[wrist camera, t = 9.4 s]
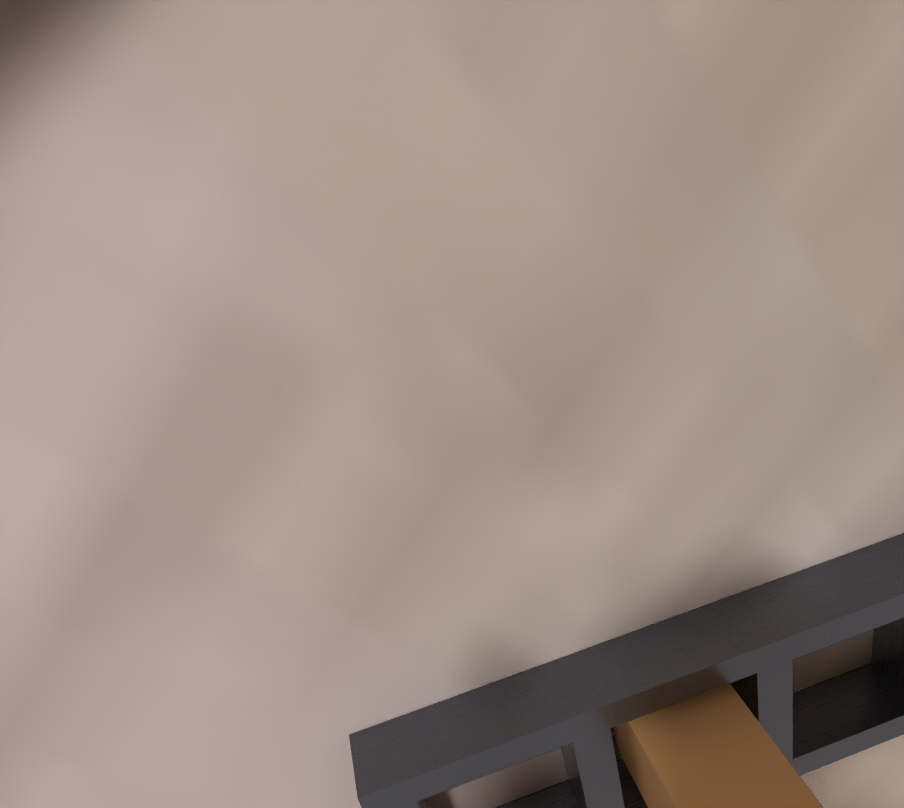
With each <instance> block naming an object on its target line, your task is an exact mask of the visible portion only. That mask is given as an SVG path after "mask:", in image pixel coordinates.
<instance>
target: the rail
mask: <svg viewBox="0 0 904 808" xmlns="http://www.w3.org/2000/svg"><path fill="white" fill-rule="evenodd" d="M872 629H874V643H873V656H872V664H870V665H868V666H865V667H863V668H860V669H857V670H855V671H852V672H850V673H847V674H844V675H842V676H839V677H837V678H834V679H831V680H829V681H826V682H824V683H821V684H818V685H816V686H813V687H811V688H808V689H805V690H803V691H800V692H797V693H795V694H793V659H795V658H798V657H801V656H803V655H806V654H809V653H811V652H814V651H817V650H819V649H822V648H824V647H827V646H830V645H832V644H835V643H838V642H840V641H843V640H846V639H848V638H851V637H854V636H856V635H859V634H862V633H864V632H867V631H869V630H872ZM729 683H730V684H731V686H732V687H733V688H734V690H735V691H736V692H737V694H738V695H739V696H740V698H741V699H742V700H743V702H744V703H745V704H746V706H747V707H748V708H749V710H750V711H751V712H752V714H753V715H754V716H755V718H756V719H757V720H758V722H759V723H760V724H761V726H762V727H763V728H764V730H765V731H766V732H767V733H768V735H769V736H770V737H771V739H772V740H773V741H774V743H775V744H776V745H777V747H778V748H779V749H780V751H781V752H782V753H783V755H784V756H785V757H786V759H787V760H788V761H789V763H790V764H791V765H792V767H793V768H794V769H795V771H796V772H797V773H798V775H799V776H800V775H802V774H805V773H807V772H810V771H812V770H815V769H817V768H820V767H822V766H825V765H827V764H830V763H832V762H835V761H837V760H840V759H842V758H845V757H847V756H850V755H852V754H855V753H857V752H860V751H862V750H865V749H868V748H870V747H873V746H875V745H878V744H880V743H883V742H885V741H888V740H890V739H893V738H895V737H898V736H900V735H903V734H904V534H901V535H898V536H895V537H893V538H890V539H887V540H884V541H882V542H879V543H876V544H873V545H871V546H868V547H865V548H862V549H860V550H857V551H854V552H851V553H849V554H846V555H843V556H840V557H838V558H835V559H832V560H829V561H827V562H824V563H821V564H818V565H816V566H813V567H810V568H807V569H805V570H802V571H799V572H796V573H794V574H791V575H788V576H785V577H783V578H780V579H777V580H774V581H772V582H769V583H766V584H763V585H761V586H758V587H755V588H752V589H750V590H747V591H744V592H741V593H739V594H736V595H733V596H730V597H728V598H725V599H722V600H719V601H717V602H714V603H711V604H708V605H706V606H703V607H700V608H697V609H695V610H692V611H689V612H686V613H684V614H681V615H678V616H675V617H673V618H670V619H667V620H664V621H662V622H659V623H656V624H653V625H651V626H648V627H645V628H642V629H640V630H637V631H634V632H631V633H629V634H626V635H623V636H620V637H618V638H615V639H612V640H609V641H607V642H604V643H601V644H598V645H596V646H593V647H590V648H587V649H585V650H582V651H579V652H576V653H574V654H571V655H568V656H565V657H563V658H560V659H557V660H554V661H552V662H549V663H546V664H543V665H541V666H538V667H535V668H532V669H530V670H527V671H524V672H521V673H519V674H516V675H513V676H510V677H508V678H505V679H502V680H499V681H497V682H494V683H491V684H488V685H486V686H483V687H480V688H477V689H475V690H472V691H469V692H466V693H464V694H461V695H458V696H455V697H453V698H450V699H447V700H444V701H442V702H439V703H436V704H433V705H431V706H428V707H425V708H422V709H420V710H417V711H414V712H411V713H409V714H406V715H403V716H400V717H398V718H395V719H392V720H389V721H387V722H384V723H381V724H378V725H376V726H373V727H370V728H367V729H365V730H362V731H359V732H356V733H354V734H351V735H349V737H350V745H351V752H352V760H353V767H354V774H355V782H356V789H357V796H358V800H359V802H360V804H361V806H362V808H429V805H428V802H427V800H426V798H428V797H431V796H433V795H436V794H438V793H441V792H444V791H446V790H449V789H452V788H454V787H457V786H460V785H462V784H465V783H468V782H470V781H473V780H475V779H478V778H481V777H483V776H486V775H489V774H491V773H494V772H497V771H499V770H502V769H505V768H507V767H510V766H512V765H515V764H518V763H520V762H523V761H526V760H528V759H531V758H534V757H536V756H539V755H542V754H544V753H547V752H550V751H552V750H555V749H557V748H560V747H561V749H562V753H563V758H564V762H565V767H566V771H567V775H568V781H566V782H563V783H561V784H558V785H555V786H553V787H550V788H548V789H545V790H542V791H540V792H537V793H535V794H532V795H529V796H527V797H524V798H522V799H519V800H516V801H514V802H511V803H509V804H506V805H503V806H501V807H498V808H648V806H647V805H646V803H645V801H644V799H643V797H642V795H641V793H640V791H639V789H638V787H637V785H636V783H635V781H634V780H633V778H632V776H631V774H630V772H629V770H628V768H627V766H626V764H625V762H624V760H620V761H618V762H616V756H615V750H614V745H613V739H612V733H611V728H613V727H616V726H618V725H621V724H624V723H626V722H629V721H631V720H634V719H637V718H639V717H642V716H645V715H647V714H650V713H653V712H655V711H658V710H661V709H663V708H666V707H668V706H671V705H674V704H676V703H679V702H682V701H684V700H687V699H690V698H692V697H695V696H698V695H700V694H703V693H706V692H708V691H711V690H713V689H716V688H719V687H721V686H724V685H727V684H729Z"/></svg>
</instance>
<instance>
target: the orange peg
mask: <svg viewBox="0 0 904 808" xmlns="http://www.w3.org/2000/svg"><path fill="white" fill-rule="evenodd" d="M613 729H614V735H615V740H616V746H617V749H618V751H619V753H620V755H621V756H622V758H623V760H624V762H625V764H626V766H627V768H628V770H629V772H630V774H631V776H632V778H633V780H634V781H635V783H636V785H637V787H638V789H639V791H640V793H641V795H642V797H643V799H644V801H645V803H646V805H647V806H648V808H823V806H822V805H821V804H820V802H819V801H818V800H817V798H816V797H815V796H814V794H813V793H812V792H811V791H810V789H809V788H808V787H807V785H806V784H805V783H804V781H803V780H802V779H801V777H800V776H799V775H798V773H797V772H796V771H795V769H794V768H793V767H792V765H791V764H790V763H789V761H788V760H787V759H786V757H785V756H784V755H783V753H782V752H781V751H780V749H779V748H778V747H777V745H776V744H775V743H774V741H773V740H772V739H771V737H770V736H769V735H768V733H767V732H766V731H765V730H764V728H763V727H762V726H761V724H760V723H759V722H758V720H757V719H756V718H755V716H754V715H753V714H752V712H751V711H750V710H749V708H748V707H747V706H746V704H745V703H744V702H743V700H742V699H741V698H740V696H739V695H738V694H737V692H736V691H735V690H734V688H733V687H732V686H731V684H730V683H729V684H727V685H724V686H721V687H719V688H716V689H713V690H711V691H708V692H706V693H703V694H700V695H698V696H695V697H692V698H690V699H687V700H684V701H682V702H679V703H676V704H674V705H671V706H668V707H666V708H663V709H661V710H658V711H655V712H653V713H650V714H647V715H645V716H642V717H639V718H637V719H634V720H631V721H629V722H626V723H624V724H621V725H618V726H616V727H613Z"/></svg>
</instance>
